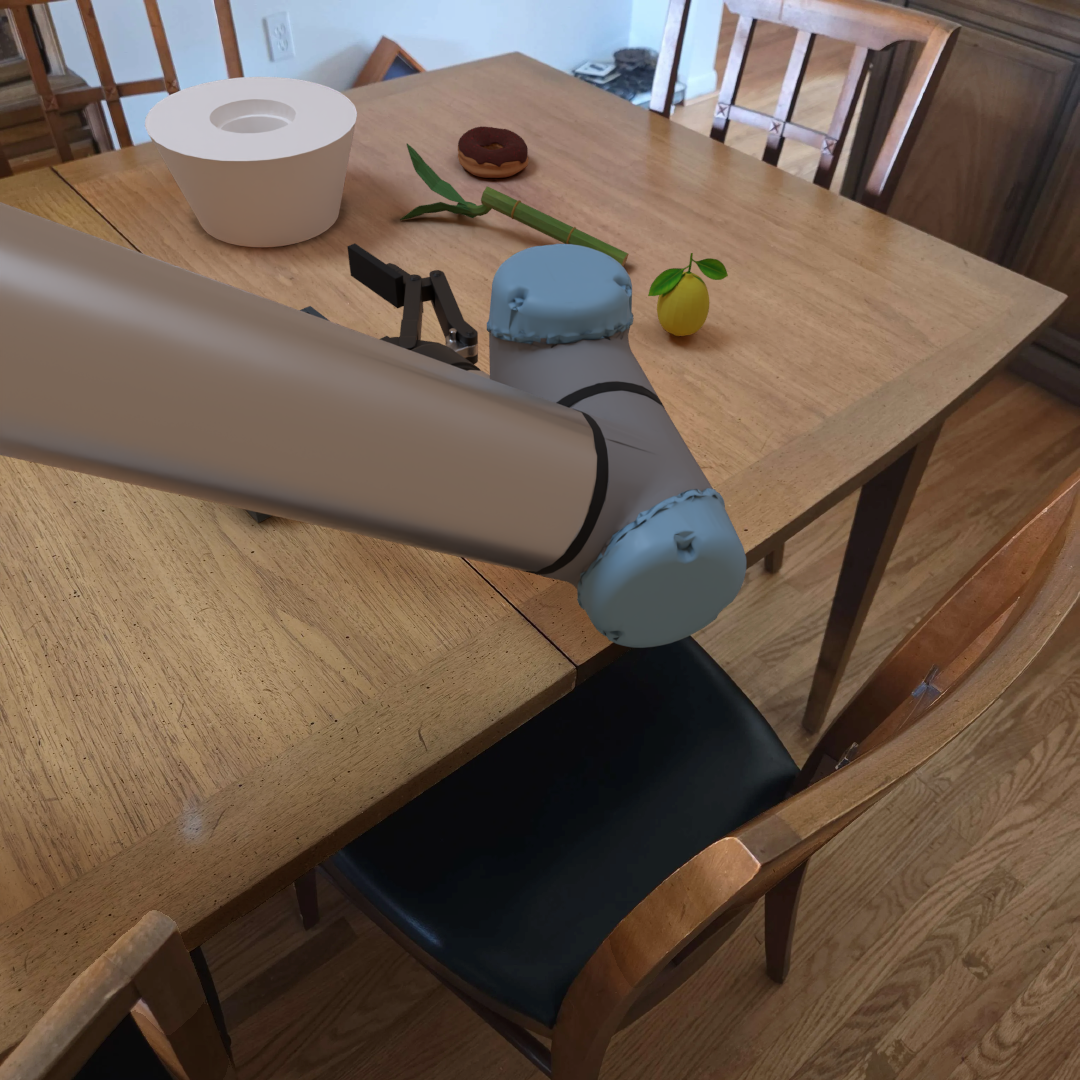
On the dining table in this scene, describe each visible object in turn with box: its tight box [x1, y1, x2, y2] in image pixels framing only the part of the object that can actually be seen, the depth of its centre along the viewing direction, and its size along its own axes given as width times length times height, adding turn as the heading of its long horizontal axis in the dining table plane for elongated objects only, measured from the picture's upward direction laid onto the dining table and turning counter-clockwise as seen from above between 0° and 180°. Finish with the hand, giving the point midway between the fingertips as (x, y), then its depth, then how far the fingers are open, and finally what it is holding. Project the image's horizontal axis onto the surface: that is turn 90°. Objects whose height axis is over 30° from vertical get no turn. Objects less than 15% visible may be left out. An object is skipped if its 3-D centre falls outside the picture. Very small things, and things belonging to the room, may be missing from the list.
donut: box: [457, 125, 530, 179], centre depth 127 cm, size 10×10×4 cm
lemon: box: [647, 252, 729, 337], centre depth 98 cm, size 7×6×10 cm
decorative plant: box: [399, 143, 629, 268], centre depth 113 cm, size 6×8×30 cm
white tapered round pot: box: [144, 76, 358, 248], centre depth 113 cm, size 24×24×12 cm
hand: (281, 286), depth 74 cm, fingers open, 13 cm apart
